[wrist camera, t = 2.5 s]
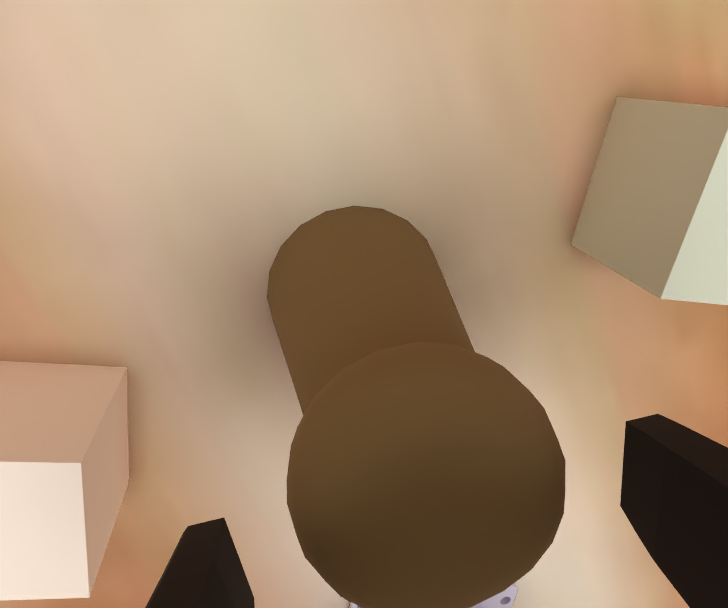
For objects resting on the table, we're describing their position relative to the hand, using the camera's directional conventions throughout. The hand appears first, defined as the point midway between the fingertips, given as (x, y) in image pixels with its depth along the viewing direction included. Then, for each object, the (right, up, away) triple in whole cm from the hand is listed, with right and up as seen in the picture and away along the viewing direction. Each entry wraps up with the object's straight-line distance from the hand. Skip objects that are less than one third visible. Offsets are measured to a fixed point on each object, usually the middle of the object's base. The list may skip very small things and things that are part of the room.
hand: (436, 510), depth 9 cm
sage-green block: (+9, +8, +9) cm, 15 cm away
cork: (-2, +4, +9) cm, 10 cm away
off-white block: (-12, -1, +9) cm, 16 cm away
